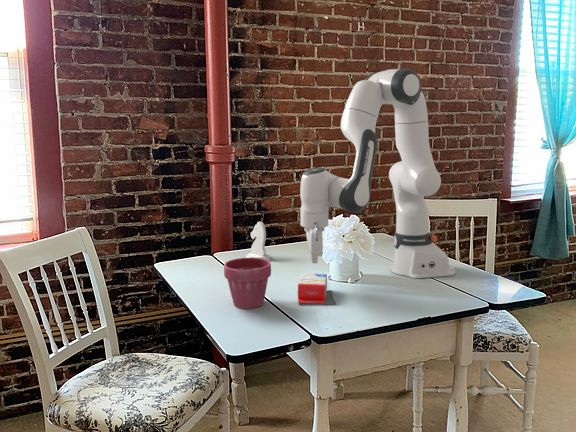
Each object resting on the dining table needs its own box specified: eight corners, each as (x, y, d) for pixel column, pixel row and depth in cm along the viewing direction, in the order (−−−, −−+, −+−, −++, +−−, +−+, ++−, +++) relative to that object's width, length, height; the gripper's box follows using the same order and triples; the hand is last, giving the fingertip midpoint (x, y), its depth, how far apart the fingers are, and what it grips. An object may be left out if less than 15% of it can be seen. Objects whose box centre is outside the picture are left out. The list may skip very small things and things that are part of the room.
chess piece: (259, 254, 229) (259, 217, 226) (276, 259, 222) (275, 221, 219) (240, 259, 223) (239, 221, 220) (257, 264, 216) (256, 225, 213)
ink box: (327, 273, 185) (325, 288, 170) (327, 288, 186) (325, 304, 172) (300, 273, 186) (296, 288, 171) (301, 287, 187) (296, 303, 172)
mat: (331, 291, 184) (331, 290, 184) (335, 304, 172) (335, 303, 172) (297, 292, 184) (297, 291, 184) (299, 305, 172) (299, 304, 172)
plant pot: (230, 295, 182) (229, 256, 179) (274, 296, 180) (273, 257, 178) (220, 311, 168) (219, 269, 165) (267, 312, 166) (267, 270, 164)
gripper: (327, 226, 170) (327, 271, 173) (321, 213, 190) (321, 253, 193) (306, 227, 170) (306, 271, 173) (302, 213, 190) (302, 254, 193)
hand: (314, 262), depth 183 cm, fingers closed
